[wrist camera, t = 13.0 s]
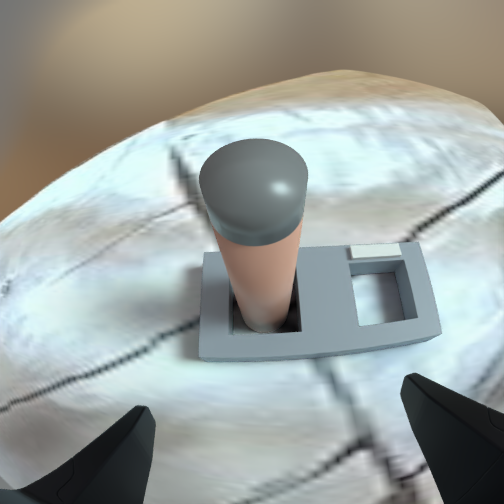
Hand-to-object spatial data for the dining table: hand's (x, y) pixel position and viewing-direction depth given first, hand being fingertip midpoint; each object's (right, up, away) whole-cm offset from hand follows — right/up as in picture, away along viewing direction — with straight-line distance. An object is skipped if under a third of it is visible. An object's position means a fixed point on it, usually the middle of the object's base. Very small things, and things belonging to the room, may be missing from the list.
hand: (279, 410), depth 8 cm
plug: (0, 0, +16) cm, 16 cm away
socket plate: (+5, 0, +16) cm, 16 cm away
